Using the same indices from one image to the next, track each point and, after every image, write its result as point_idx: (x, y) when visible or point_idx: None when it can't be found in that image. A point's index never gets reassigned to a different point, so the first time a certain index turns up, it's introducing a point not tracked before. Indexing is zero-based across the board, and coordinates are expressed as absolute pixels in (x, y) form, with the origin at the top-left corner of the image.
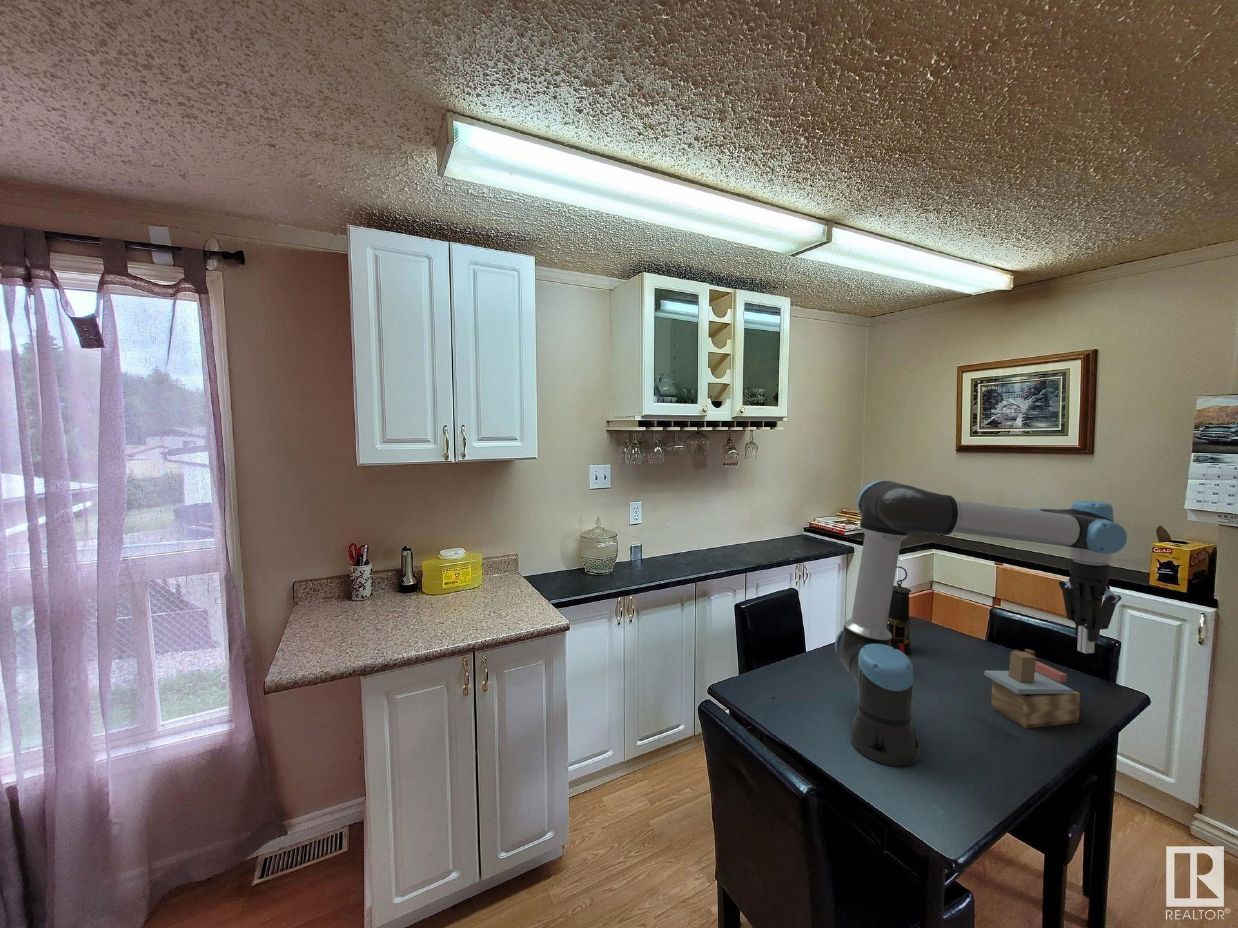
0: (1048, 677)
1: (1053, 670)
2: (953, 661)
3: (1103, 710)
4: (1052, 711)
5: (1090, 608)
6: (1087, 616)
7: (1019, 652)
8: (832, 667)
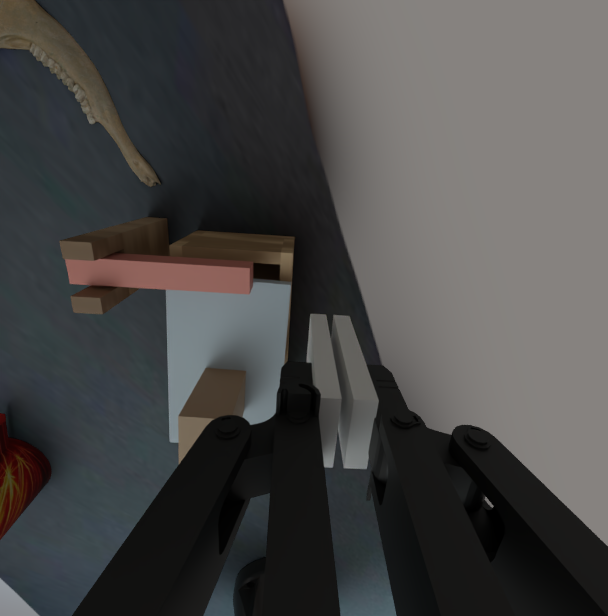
0: (58, 38)
1: (214, 280)
2: None
3: (261, 90)
4: (289, 323)
5: None
6: (391, 570)
7: (186, 440)
8: (23, 531)
